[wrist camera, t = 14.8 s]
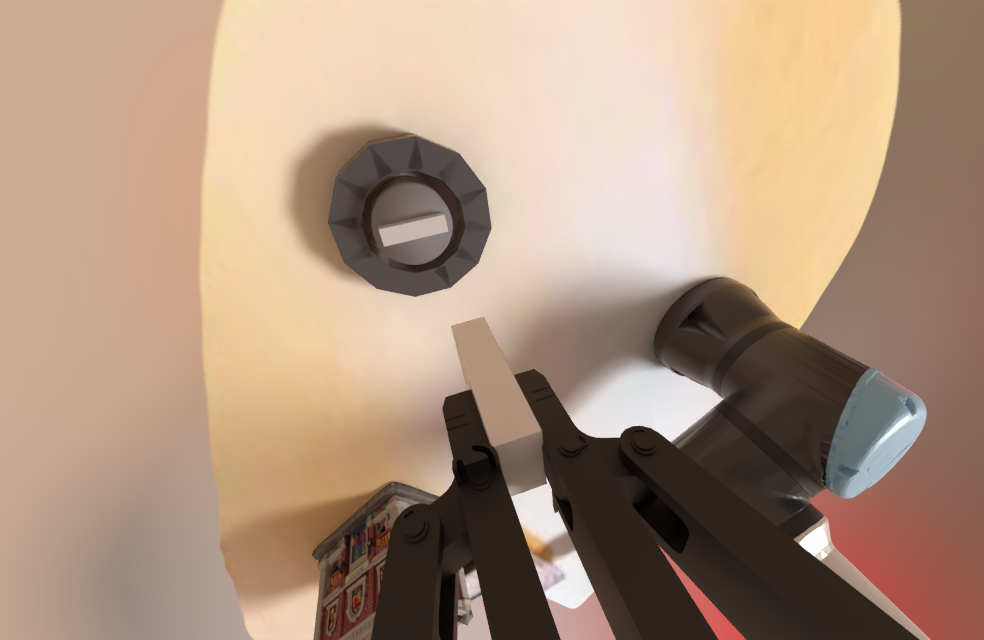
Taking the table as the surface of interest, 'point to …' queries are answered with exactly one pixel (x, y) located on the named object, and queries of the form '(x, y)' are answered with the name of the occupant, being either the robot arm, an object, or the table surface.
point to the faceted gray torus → (396, 159)
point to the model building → (365, 567)
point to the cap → (410, 221)
